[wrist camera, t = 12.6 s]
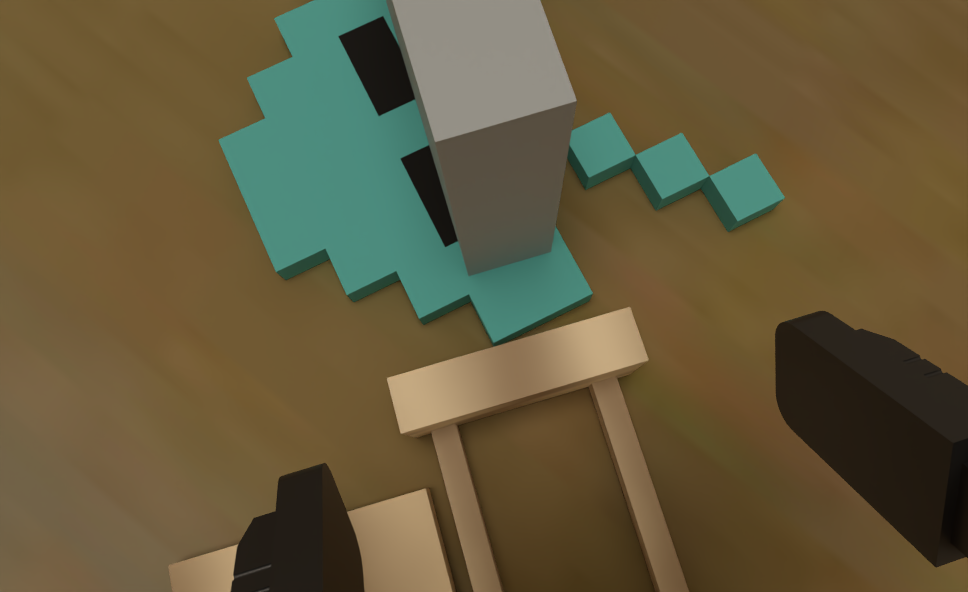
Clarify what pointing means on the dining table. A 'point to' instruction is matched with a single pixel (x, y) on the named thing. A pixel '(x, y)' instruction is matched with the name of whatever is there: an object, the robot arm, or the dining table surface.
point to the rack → (439, 410)
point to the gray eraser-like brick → (491, 119)
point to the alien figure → (419, 178)
